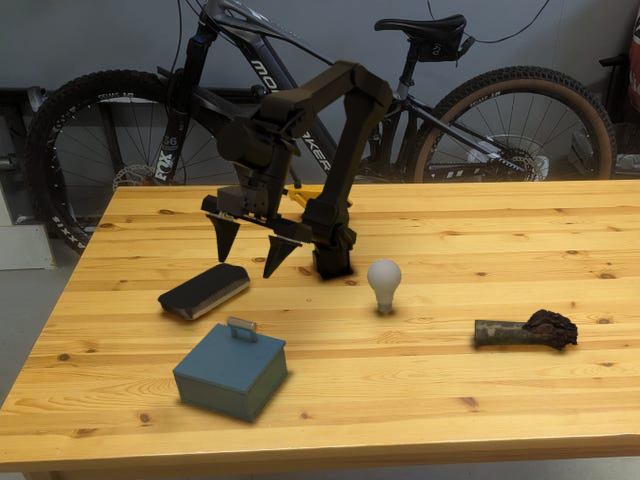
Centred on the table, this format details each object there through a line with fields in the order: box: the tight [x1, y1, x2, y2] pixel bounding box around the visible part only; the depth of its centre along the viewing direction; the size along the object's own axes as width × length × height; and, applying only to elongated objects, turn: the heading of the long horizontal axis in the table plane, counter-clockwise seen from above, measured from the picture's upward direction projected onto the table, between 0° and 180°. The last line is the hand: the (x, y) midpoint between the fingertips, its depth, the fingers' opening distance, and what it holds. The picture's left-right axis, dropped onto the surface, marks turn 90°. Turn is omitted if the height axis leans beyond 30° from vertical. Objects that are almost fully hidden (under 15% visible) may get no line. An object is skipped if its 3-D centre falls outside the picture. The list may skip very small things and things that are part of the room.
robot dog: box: [287, 164, 354, 223], centre depth 143 cm, size 6×18×13 cm, turn 84°
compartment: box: [173, 347, 289, 423], centre depth 105 cm, size 12×13×6 cm
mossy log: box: [473, 308, 579, 352], centre depth 115 cm, size 18×7×6 cm, turn 87°
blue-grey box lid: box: [171, 315, 287, 395], centre depth 102 cm, size 12×13×5 cm
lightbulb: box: [366, 258, 402, 314], centre depth 119 cm, size 6×6×11 cm
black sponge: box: [157, 262, 251, 321], centre depth 124 cm, size 16×8×4 cm, turn 143°
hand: (242, 270), depth 108 cm, fingers open, 9 cm apart
